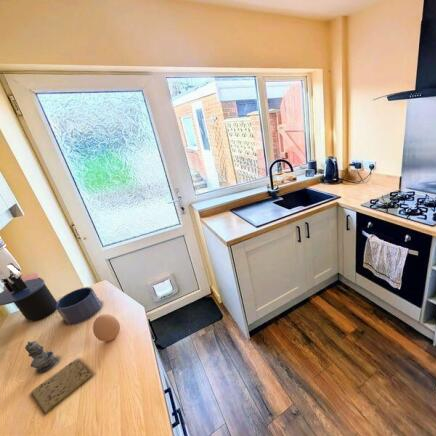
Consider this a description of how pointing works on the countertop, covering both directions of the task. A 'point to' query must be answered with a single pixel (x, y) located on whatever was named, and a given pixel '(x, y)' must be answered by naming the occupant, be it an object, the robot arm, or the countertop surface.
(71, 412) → the countertop surface
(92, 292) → the tin
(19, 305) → the coffee jar
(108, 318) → the egg
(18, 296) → the tin lid
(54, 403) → the pitted brown brick
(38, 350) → the grey tall lumpy piece
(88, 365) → the countertop surface
